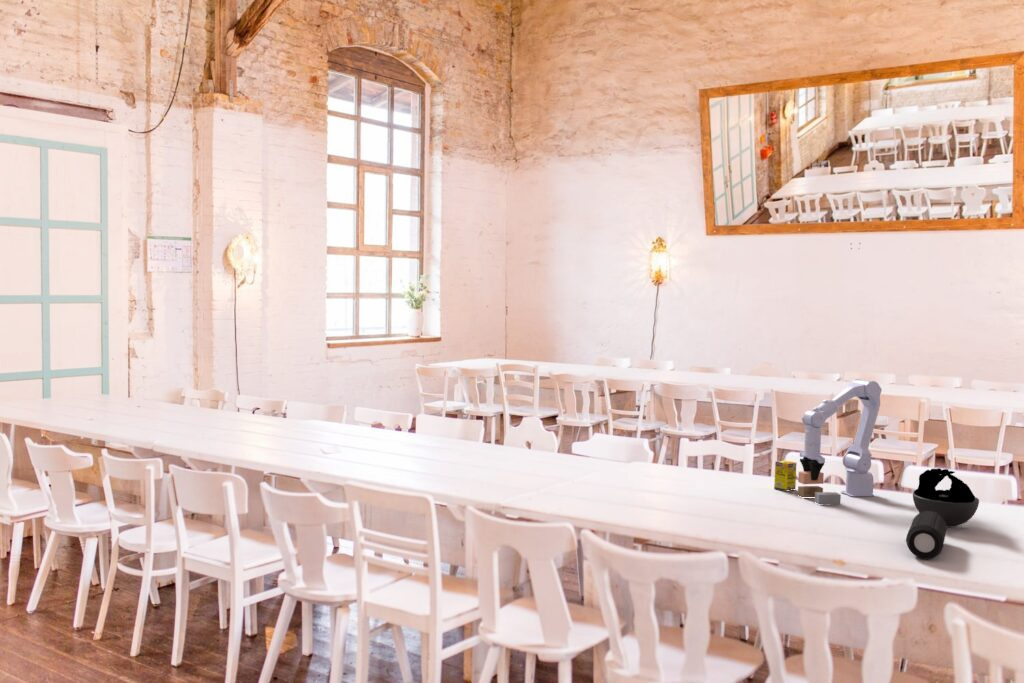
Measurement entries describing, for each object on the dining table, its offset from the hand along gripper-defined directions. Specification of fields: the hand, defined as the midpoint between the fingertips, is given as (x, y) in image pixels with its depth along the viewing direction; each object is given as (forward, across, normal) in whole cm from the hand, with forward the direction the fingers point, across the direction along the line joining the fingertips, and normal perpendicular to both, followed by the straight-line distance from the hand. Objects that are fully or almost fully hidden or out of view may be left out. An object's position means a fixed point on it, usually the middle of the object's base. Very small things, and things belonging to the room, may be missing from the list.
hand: (811, 478), depth 350 cm
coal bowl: (+7, +46, +22) cm, 52 cm away
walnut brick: (+7, 0, 0) cm, 7 cm away
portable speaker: (+7, +71, -3) cm, 72 cm away
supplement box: (+7, -14, -3) cm, 16 cm away
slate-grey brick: (+7, +11, 0) cm, 13 cm away
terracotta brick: (+2, 0, 0) cm, 2 cm away
